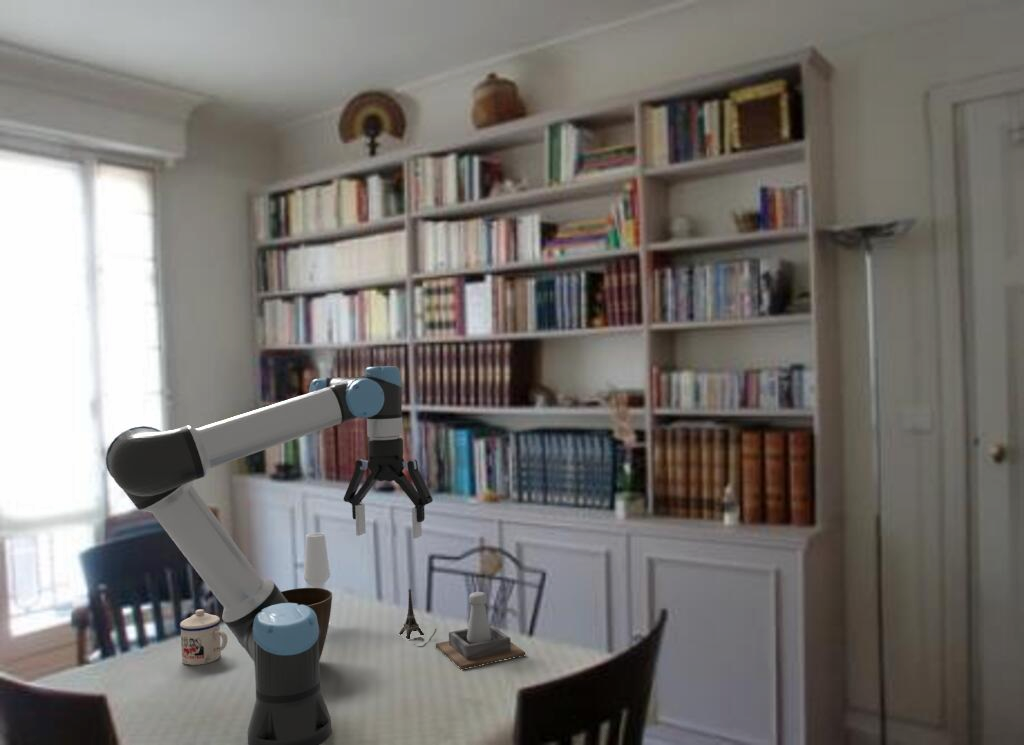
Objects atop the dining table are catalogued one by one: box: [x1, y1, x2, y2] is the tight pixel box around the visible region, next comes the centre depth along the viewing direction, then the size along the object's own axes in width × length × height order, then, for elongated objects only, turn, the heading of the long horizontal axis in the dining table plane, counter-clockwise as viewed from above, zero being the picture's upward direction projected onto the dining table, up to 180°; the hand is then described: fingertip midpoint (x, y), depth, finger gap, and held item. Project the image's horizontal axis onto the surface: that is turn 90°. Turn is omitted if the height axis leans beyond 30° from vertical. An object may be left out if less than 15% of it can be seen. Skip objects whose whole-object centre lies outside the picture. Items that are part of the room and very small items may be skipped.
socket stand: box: [435, 623, 526, 670], centre depth 192 cm, size 16×16×4 cm
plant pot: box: [281, 587, 333, 662], centre depth 187 cm, size 15×15×16 cm
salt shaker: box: [467, 591, 492, 644], centre depth 192 cm, size 6×6×13 cm
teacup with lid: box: [179, 609, 228, 666], centre depth 193 cm, size 12×9×12 cm
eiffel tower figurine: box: [398, 588, 424, 639], centre depth 205 cm, size 15×10×13 cm
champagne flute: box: [303, 532, 332, 627], centre depth 215 cm, size 7×7×24 cm
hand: (388, 535), depth 176 cm, fingers open, 13 cm apart
